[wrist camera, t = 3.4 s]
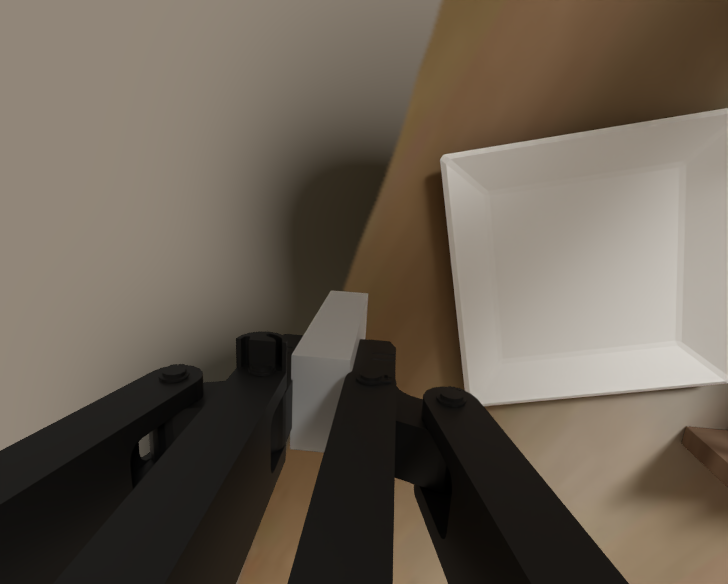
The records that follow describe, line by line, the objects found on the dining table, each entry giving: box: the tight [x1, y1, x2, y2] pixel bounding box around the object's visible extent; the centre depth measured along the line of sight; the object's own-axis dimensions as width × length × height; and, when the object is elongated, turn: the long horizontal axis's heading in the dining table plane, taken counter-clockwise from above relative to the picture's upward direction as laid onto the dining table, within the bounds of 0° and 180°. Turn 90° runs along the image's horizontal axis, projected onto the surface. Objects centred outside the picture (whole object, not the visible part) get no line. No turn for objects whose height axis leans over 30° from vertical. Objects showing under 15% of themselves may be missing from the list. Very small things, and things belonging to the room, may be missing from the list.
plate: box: [440, 108, 728, 406], centre depth 30 cm, size 19×19×2 cm
